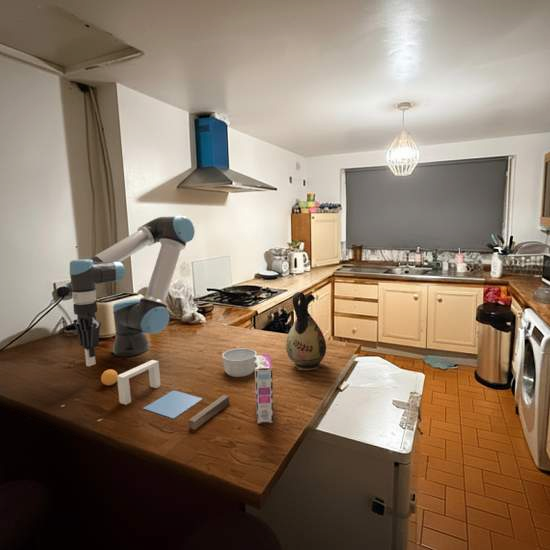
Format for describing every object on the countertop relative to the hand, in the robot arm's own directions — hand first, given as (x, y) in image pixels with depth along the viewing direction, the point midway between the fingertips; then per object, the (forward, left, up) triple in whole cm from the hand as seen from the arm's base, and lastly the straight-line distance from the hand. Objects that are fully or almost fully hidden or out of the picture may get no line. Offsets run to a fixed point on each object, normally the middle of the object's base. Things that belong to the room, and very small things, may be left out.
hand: (91, 364), depth 131 cm
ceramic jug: (+67, +45, -6) cm, 80 cm away
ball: (+10, +1, -3) cm, 10 cm away
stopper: (+56, +1, -6) cm, 56 cm away
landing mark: (+41, +1, -6) cm, 41 cm away
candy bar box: (+70, +9, -6) cm, 70 cm away
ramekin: (+46, +31, -6) cm, 55 cm away
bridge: (+26, +1, -6) cm, 26 cm away
